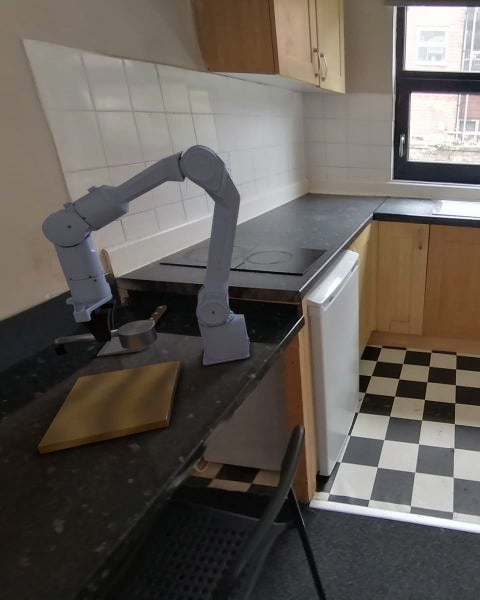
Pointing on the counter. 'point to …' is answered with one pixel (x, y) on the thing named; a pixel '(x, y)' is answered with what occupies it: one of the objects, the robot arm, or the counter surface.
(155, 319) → the kitchen cleaver
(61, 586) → the counter surface
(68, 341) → the grey disc-end rod
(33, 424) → the counter surface
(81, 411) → the chopping board
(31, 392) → the counter surface
